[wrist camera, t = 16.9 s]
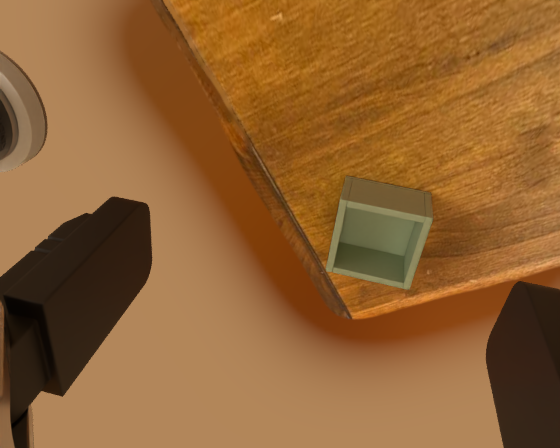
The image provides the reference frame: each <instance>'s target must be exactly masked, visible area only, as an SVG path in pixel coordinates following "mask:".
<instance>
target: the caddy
mask: <svg viewBox="0 0 560 448" xmlns="http://www.w3.org/2000/svg"><path fill="white" fill-rule="evenodd" d="M432 221H433V209H432V197H431V193H429V192H425V191H420V190H415V189H410V188H405V187H400V186H395V185H390V184H385V183H380V182H375V181H370V180H365V179H360V178H355V177H350V176H346V178H345V182H344V186H343V190H342V194H341V198H340V202H339V207H338V212H337V217H336V221H335V226H334V231H333V236H332V241H331V246H330V251H329V255H328V260H327V265H326V271H329V272H333V273H337V274H342V275H346V276H350V277H355V278H359V279H363V280H368V281H372V282H376V283H381V284H385V285H389V286H394V287H398V288H403V289H407V290H409V289H410V286H411V283H412V280H413V277H414V274H415V271H416V268H417V266H418V263H419V260H420V257H421V254H422V251H423V248H424V245H425V242H426V239H427V236H428V233H429V230H430V227H431V224H432Z"/></svg>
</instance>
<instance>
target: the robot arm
mask: <svg viewBox="0 0 560 448" xmlns="http://www.w3.org/2000/svg"><path fill="white" fill-rule="evenodd" d="M18 136H19V129H18V122H17V118H16V115H15V112H14V110H13V107H12V105H11V103H10V102H9V100H8V98H7V97H6V95H5V94H4V92H3V91H2V90H1V89H0V160H2V159H4V158H6V157H7V156H9V155H10V154H11V153H12V152H13V151H14V149H15V147H16V145H17V142H18ZM151 264H152V247H151V227H150V211H149V207H148V205H147V204H146V203H143V202H138V201H134V200H129V199H124V198H119V197H111V198H109V199H108V200H107V201H106V202H105V203H104V204H103V205H102V206H100V207H99V208H98V209H97V210H96V211H95V212H94V213H93V214H88V213H85V214H83V215H81V216H78V217H76V218H74V219H72V220H69V221H67V222H65V223H63V224H62V225H61V226H60V227H59V228H58V229H56V230H55V231H54V232H53V233H51V234H50V235H49V236H48V239H45V240H43V241H42V242H41V243H40V244H39V245H38V246H37V247H35V250H34V251H30V252H29V253H28V254H27V255H26V256H25V257H23V258H22V259H21V260H20V261H19V262H18V263H16V264H15V265H14V266H13V267H12V268H10V269H9V270H8V271H7V272H6V273H5V274H3V275H2V276H1V277H0V448H34V437H33V414H32V408H31V403H32V402H33V400H34V399H35V398H36V397H37V395H38V394H39V393H40V392H41V391H44V392H47V393H51V394H55V395H59V396H62V397H63V396H64V394H65V393H66V391H67V390H68V389H69V388H70V386H71V385H72V383H73V382H74V381H75V379H76V378H77V376H78V375H79V374H80V372H81V371H82V370H83V368H84V367H85V366H86V364H87V363H88V361H89V360H90V359H91V357H92V356H93V355H94V353H95V352H96V351H97V349H98V348H99V346H100V345H101V344H102V342H103V341H104V340H105V338H106V337H107V336H108V334H109V333H110V331H111V330H112V329H113V327H114V326H115V325H116V323H117V322H118V320H119V319H120V318H121V316H122V315H123V314H124V312H125V311H126V310H127V308H128V307H129V305H130V304H131V302H132V301H133V300H134V298H135V297H136V296H137V294H138V293H139V292H140V290H141V289H142V288H143V286H144V285H145V283H146V281H147V279H148V277H149V274H150V270H151ZM486 364H487V369H488V374H489V379H490V383H491V389H492V393H493V398H494V403H495V407H496V413H497V417H498V422H499V427H500V432H501V436H502V441H503V446H504V448H560V290H559V289H556V288H551V287H546V286H542V285H537V284H532V283H527V282H522V281H519V282H517V283H516V284H515V285H514V286H513V288H512V290H511V292H510V294H509V296H508V298H507V300H506V302H505V304H504V306H503V308H502V310H501V313H500V315H499V317H498V319H497V321H496V323H495V325H494V327H493V329H492V331H491V334H490V336H489V339H488V343H487V349H486Z"/></svg>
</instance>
